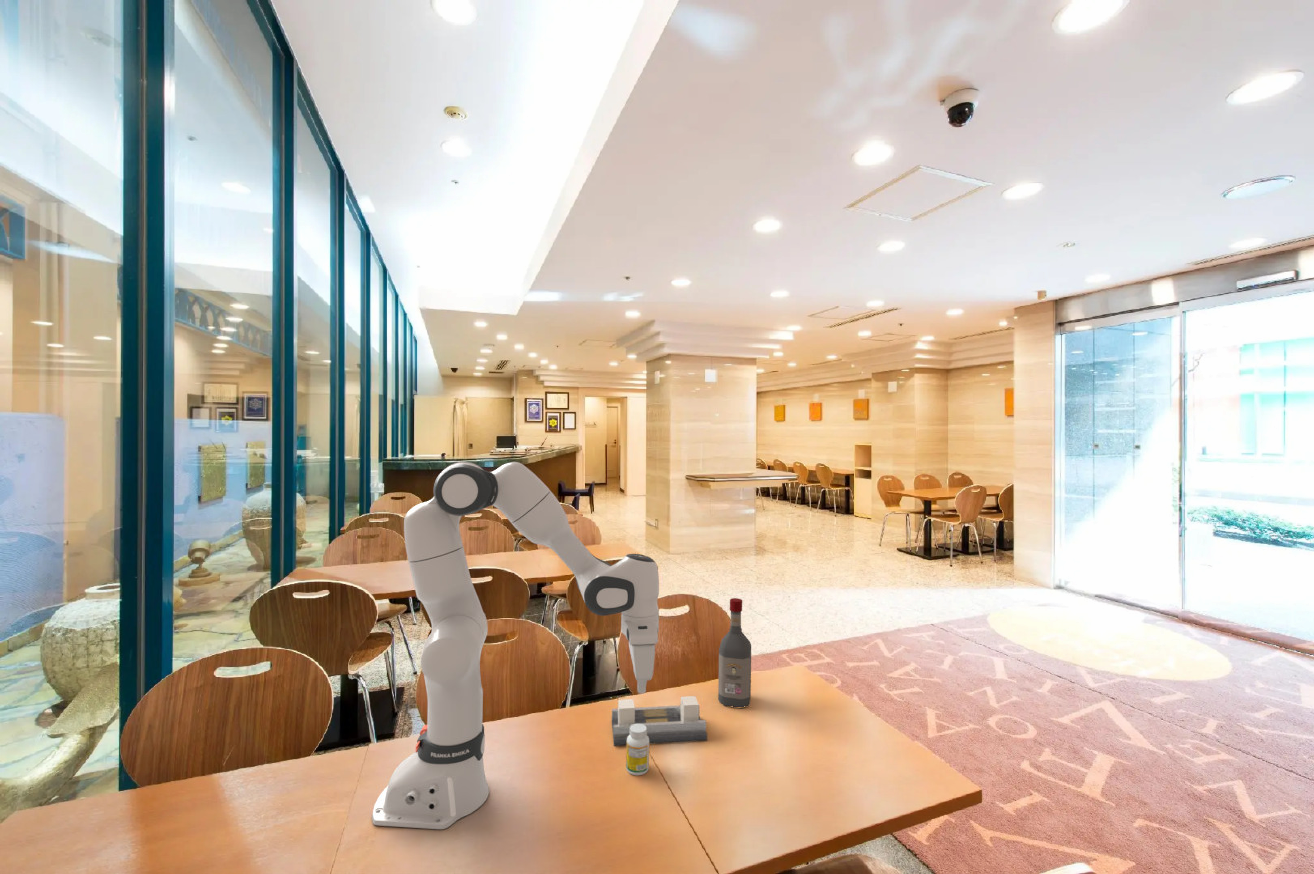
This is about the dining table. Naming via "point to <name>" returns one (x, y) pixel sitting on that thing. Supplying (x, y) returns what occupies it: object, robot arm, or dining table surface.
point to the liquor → (735, 662)
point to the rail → (660, 726)
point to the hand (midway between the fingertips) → (639, 682)
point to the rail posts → (687, 713)
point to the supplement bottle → (637, 750)
